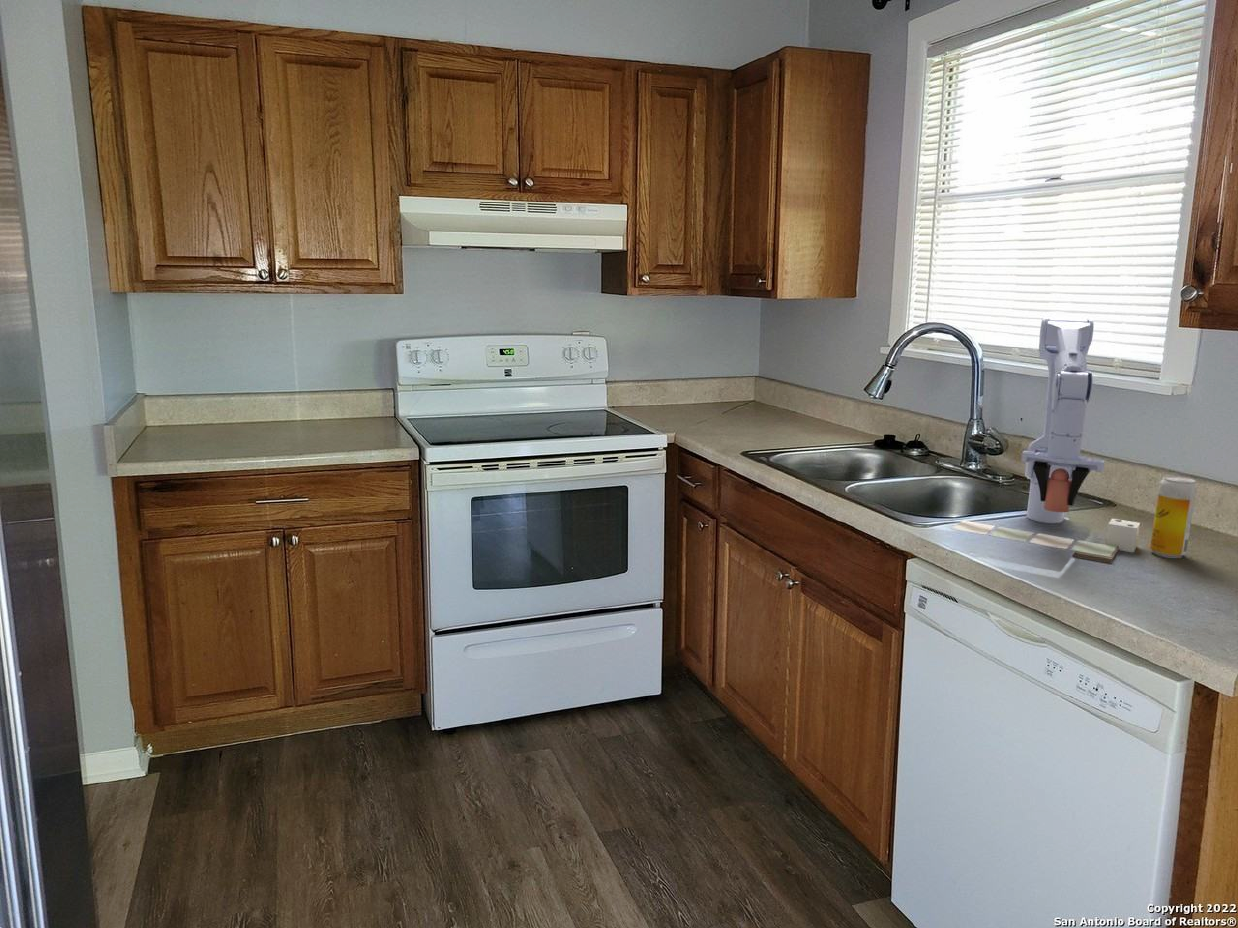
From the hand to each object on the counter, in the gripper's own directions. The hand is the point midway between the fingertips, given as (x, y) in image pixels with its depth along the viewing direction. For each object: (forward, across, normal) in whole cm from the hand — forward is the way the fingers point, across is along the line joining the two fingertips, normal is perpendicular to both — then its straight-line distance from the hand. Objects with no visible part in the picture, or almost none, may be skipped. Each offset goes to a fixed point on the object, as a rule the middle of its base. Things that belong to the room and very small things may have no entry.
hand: (1057, 502), depth 183 cm
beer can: (+9, +19, +9) cm, 23 cm away
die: (+9, +11, +8) cm, 17 cm away
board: (+9, -4, 0) cm, 10 cm away
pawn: (+1, 0, 0) cm, 1 cm away
